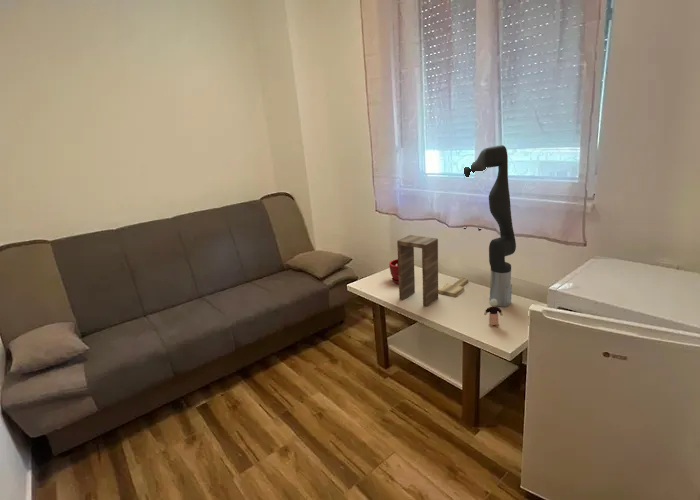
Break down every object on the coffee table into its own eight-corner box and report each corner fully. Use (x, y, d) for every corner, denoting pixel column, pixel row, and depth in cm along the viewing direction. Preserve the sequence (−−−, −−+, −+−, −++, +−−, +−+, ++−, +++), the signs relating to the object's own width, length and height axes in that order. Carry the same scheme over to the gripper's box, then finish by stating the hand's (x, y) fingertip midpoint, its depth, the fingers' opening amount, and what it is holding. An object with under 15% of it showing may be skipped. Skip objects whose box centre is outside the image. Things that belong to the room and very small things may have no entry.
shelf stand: (438, 298, 209) (437, 238, 199) (426, 306, 200) (425, 244, 191) (411, 291, 219) (410, 234, 209) (399, 299, 210) (397, 240, 201)
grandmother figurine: (499, 322, 179) (500, 296, 175) (503, 327, 175) (504, 300, 172) (482, 324, 179) (483, 298, 175) (485, 328, 175) (486, 301, 172)
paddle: (473, 283, 224) (473, 279, 223) (455, 297, 208) (455, 293, 208) (456, 279, 230) (456, 276, 230) (438, 293, 215) (438, 289, 214)
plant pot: (394, 276, 243) (393, 257, 239) (415, 278, 237) (415, 259, 233) (386, 284, 232) (386, 264, 228) (408, 286, 226) (408, 266, 222)
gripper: (457, 201, 222) (457, 229, 227) (482, 203, 213) (481, 232, 218) (463, 199, 228) (463, 226, 232) (488, 200, 219) (487, 229, 223)
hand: (472, 229), depth 225 cm, fingers open, 8 cm apart
